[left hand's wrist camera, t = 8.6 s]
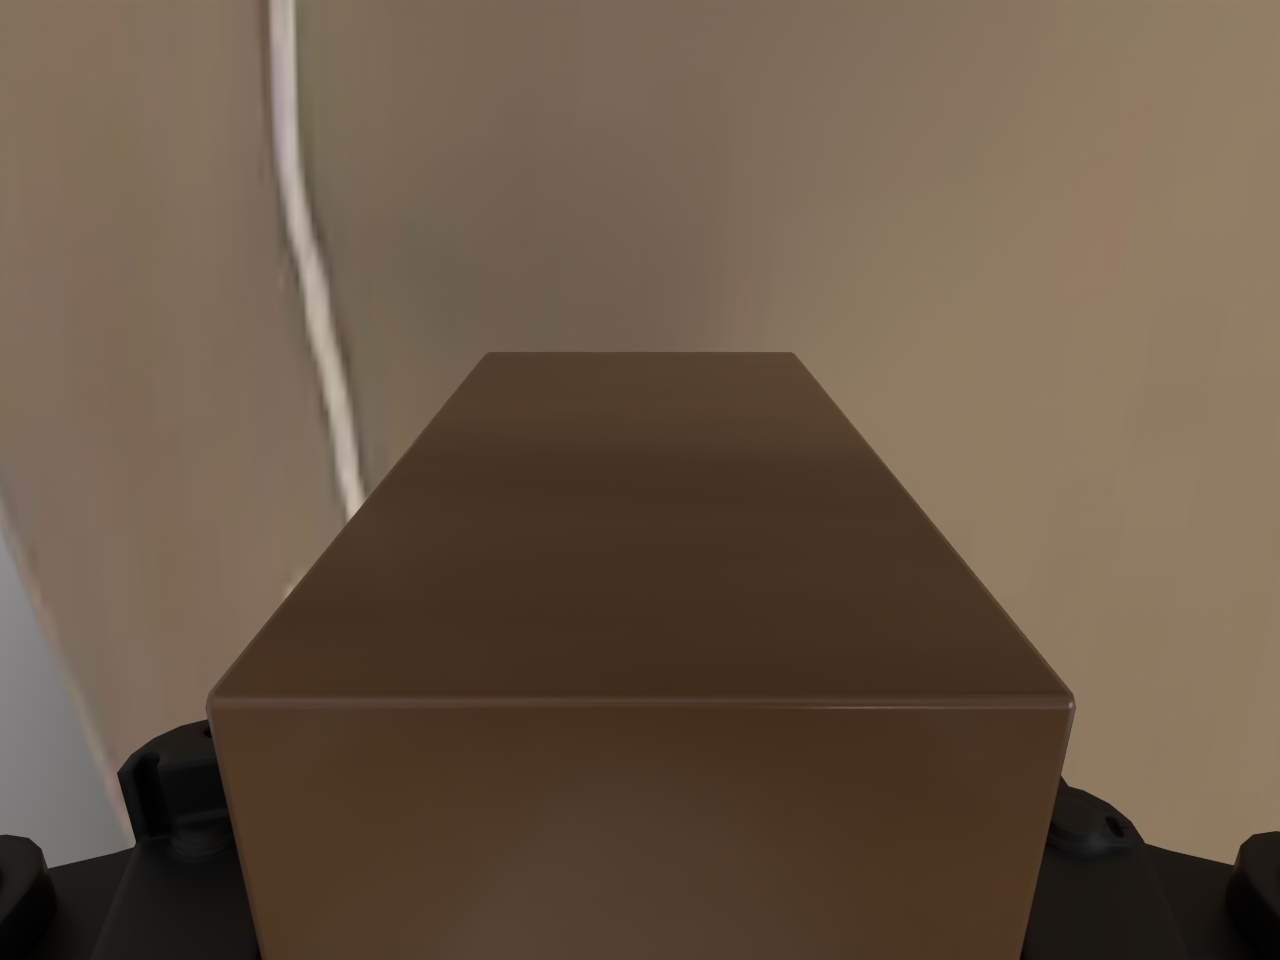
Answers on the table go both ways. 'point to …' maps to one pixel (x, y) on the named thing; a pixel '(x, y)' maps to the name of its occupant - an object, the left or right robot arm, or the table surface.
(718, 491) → the brown wooden block
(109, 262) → the table surface
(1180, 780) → the table surface
